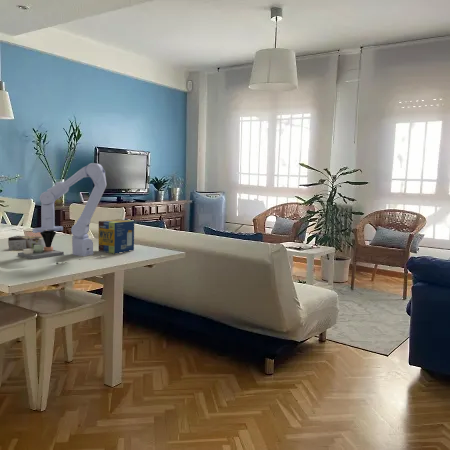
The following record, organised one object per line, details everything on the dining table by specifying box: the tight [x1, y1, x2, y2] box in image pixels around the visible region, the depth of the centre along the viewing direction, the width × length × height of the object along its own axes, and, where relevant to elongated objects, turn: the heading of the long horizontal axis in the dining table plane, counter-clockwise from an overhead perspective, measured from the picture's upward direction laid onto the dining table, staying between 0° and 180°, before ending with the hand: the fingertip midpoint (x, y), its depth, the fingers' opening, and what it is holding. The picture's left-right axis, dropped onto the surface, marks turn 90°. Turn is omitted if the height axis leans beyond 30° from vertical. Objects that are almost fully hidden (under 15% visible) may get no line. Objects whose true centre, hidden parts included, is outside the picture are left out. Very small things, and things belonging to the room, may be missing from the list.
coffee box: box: [7, 235, 46, 251], centre depth 225 cm, size 9×6×16 cm
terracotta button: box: [43, 245, 54, 252], centre depth 210 cm, size 4×4×3 cm
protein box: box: [98, 218, 135, 255], centre depth 228 cm, size 10×15×16 cm
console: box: [17, 249, 65, 260], centre depth 205 cm, size 12×15×2 cm
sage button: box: [33, 245, 44, 253], centre depth 206 cm, size 4×4×3 cm
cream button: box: [22, 249, 34, 254], centre depth 202 cm, size 4×4×3 cm
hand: (48, 247), depth 210 cm, fingers closed, pressing on terracotta button
